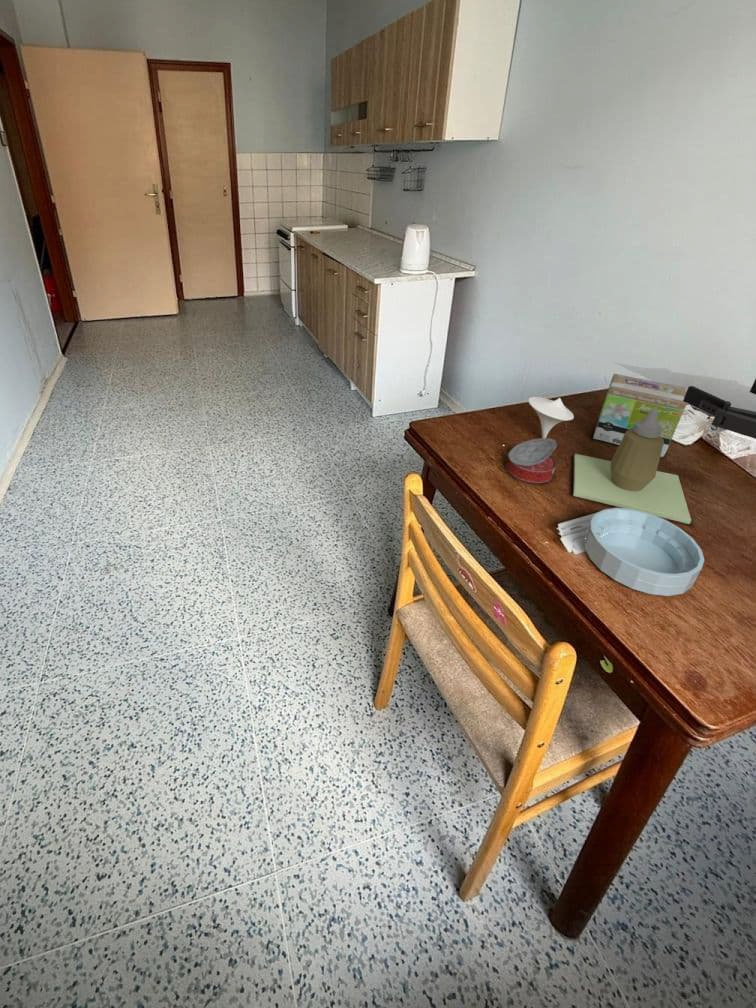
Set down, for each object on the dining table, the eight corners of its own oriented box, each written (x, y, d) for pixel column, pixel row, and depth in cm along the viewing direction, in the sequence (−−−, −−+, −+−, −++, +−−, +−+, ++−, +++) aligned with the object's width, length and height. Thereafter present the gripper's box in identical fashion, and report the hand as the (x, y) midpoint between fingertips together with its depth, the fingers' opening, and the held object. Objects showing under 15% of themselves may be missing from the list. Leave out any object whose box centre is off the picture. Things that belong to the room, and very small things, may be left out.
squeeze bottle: (645, 500, 95) (676, 424, 87) (600, 484, 100) (626, 410, 92) (653, 482, 101) (683, 408, 92) (610, 467, 105) (635, 396, 97)
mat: (676, 478, 103) (678, 475, 102) (689, 524, 90) (691, 520, 90) (573, 457, 111) (574, 453, 111) (573, 495, 99) (574, 492, 98)
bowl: (683, 544, 86) (693, 523, 84) (701, 612, 73) (714, 590, 71) (583, 518, 93) (590, 498, 90) (583, 577, 80) (591, 555, 78)
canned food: (534, 500, 105) (533, 477, 98) (497, 474, 112) (494, 451, 105) (569, 467, 106) (570, 442, 99) (531, 443, 113) (529, 419, 106)
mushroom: (556, 429, 122) (567, 388, 116) (572, 452, 113) (585, 408, 107) (515, 428, 123) (524, 387, 118) (527, 451, 114) (538, 407, 108)
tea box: (591, 440, 117) (608, 386, 110) (596, 423, 125) (612, 372, 118) (664, 458, 110) (687, 402, 103) (665, 439, 117) (687, 385, 110)
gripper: (789, 495, 60) (651, 417, 79) (935, 468, 65) (771, 400, 83) (818, 446, 57) (666, 376, 75) (970, 421, 61) (791, 360, 80)
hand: (721, 388), depth 79 cm, fingers open, 13 cm apart
